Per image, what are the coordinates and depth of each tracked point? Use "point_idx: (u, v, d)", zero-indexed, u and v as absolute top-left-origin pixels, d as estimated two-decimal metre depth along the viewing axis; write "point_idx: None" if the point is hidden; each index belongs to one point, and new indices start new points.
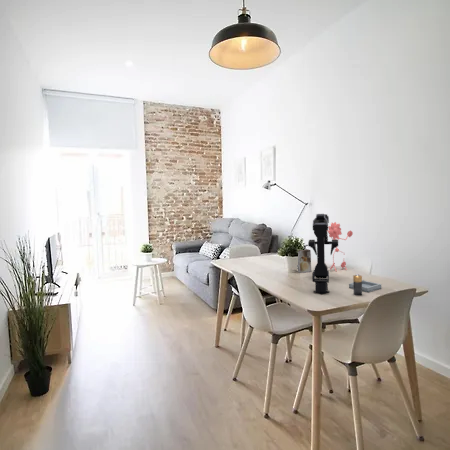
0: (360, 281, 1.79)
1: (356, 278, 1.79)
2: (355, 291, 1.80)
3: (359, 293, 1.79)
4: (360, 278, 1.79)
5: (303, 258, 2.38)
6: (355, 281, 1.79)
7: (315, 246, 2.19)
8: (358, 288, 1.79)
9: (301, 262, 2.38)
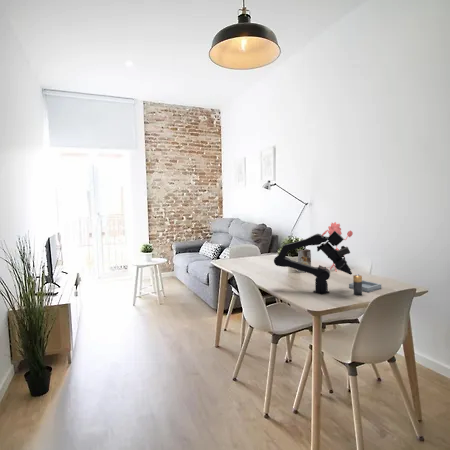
0: (360, 281, 1.79)
1: (356, 278, 1.79)
2: (355, 291, 1.80)
3: (359, 293, 1.79)
4: (360, 278, 1.79)
5: (303, 258, 2.38)
6: (355, 281, 1.79)
7: None
8: (358, 288, 1.79)
9: (301, 262, 2.38)
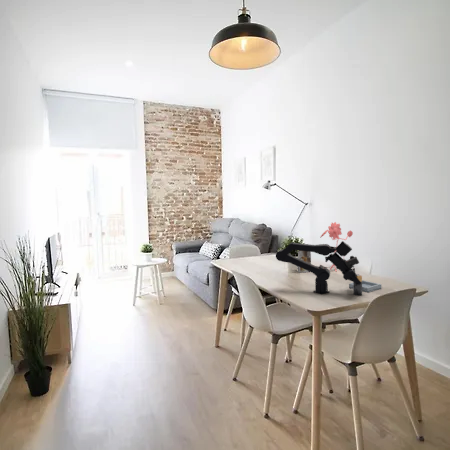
0: (360, 281, 1.79)
1: None
2: (355, 291, 1.80)
3: (359, 293, 1.79)
4: (360, 278, 1.79)
5: (303, 258, 2.38)
6: None
7: None
8: (358, 288, 1.79)
9: None
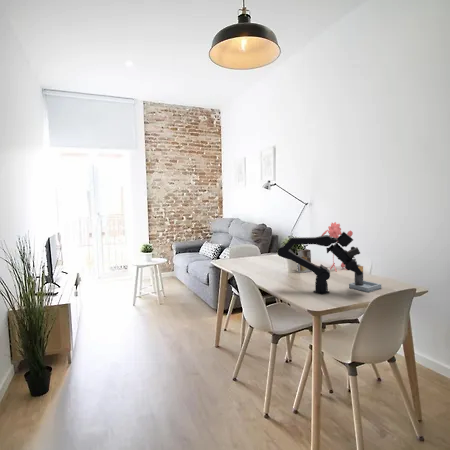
0: (361, 271, 1.79)
1: None
2: (356, 281, 1.80)
3: (360, 283, 1.79)
4: (361, 268, 1.79)
5: None
6: None
7: None
8: (359, 278, 1.79)
9: None
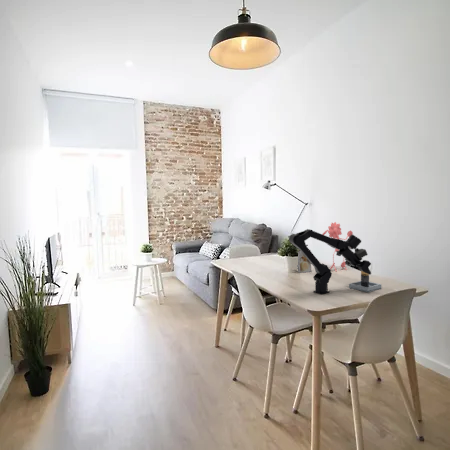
0: (368, 274, 1.90)
1: None
2: (364, 284, 1.90)
3: (368, 285, 1.90)
4: None
5: (303, 258, 2.38)
6: (365, 274, 1.89)
7: None
8: (367, 281, 1.90)
9: (301, 262, 2.38)
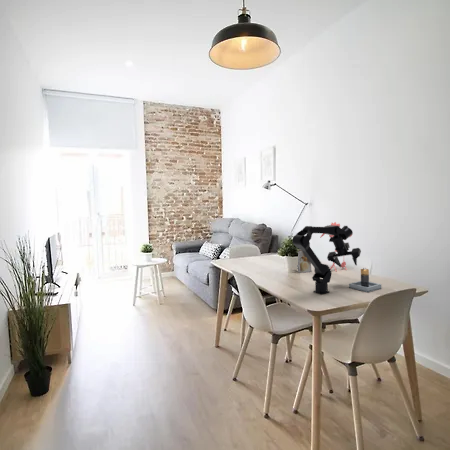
0: (368, 274, 1.90)
1: (365, 271, 1.89)
2: (364, 284, 1.90)
3: (368, 285, 1.90)
4: (368, 271, 1.90)
5: (303, 258, 2.38)
6: (364, 274, 1.90)
7: (336, 258, 1.99)
8: (367, 281, 1.90)
9: (301, 262, 2.38)
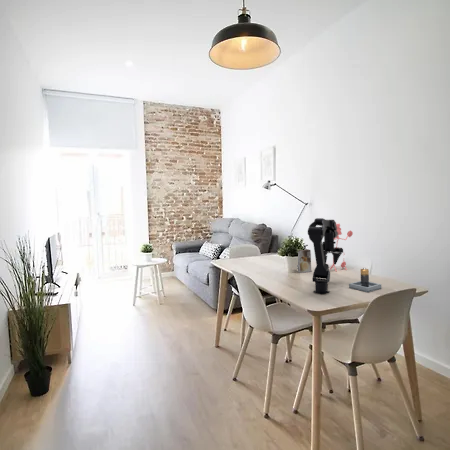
0: (368, 274, 1.90)
1: (365, 271, 1.89)
2: (364, 284, 1.90)
3: (368, 285, 1.90)
4: (368, 271, 1.90)
5: (303, 258, 2.38)
6: (364, 274, 1.90)
7: None
8: (367, 281, 1.90)
9: (301, 262, 2.38)
